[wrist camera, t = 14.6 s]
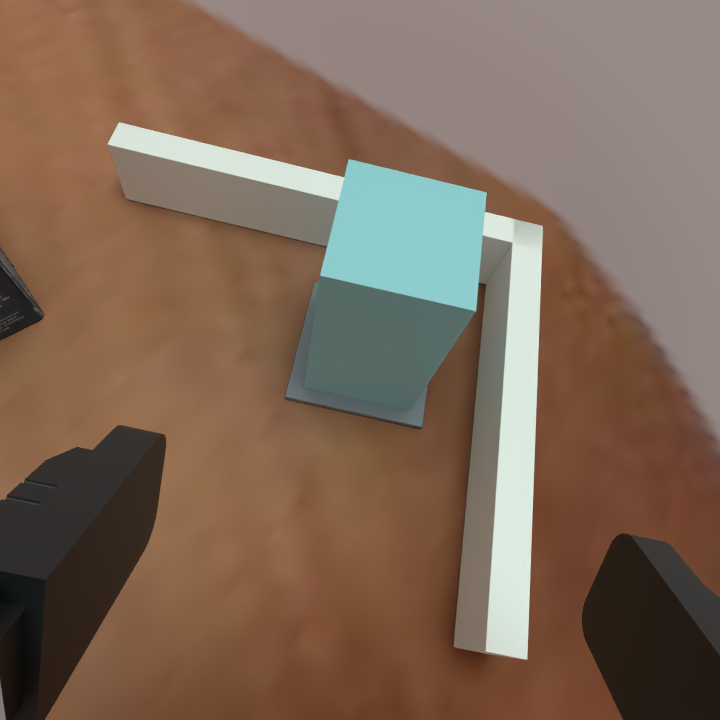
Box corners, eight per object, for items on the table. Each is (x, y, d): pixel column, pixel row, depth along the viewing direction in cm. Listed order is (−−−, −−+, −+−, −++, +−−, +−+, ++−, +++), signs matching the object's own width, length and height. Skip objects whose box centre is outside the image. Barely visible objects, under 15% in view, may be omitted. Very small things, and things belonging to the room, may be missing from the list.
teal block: (303, 387, 28) (319, 275, 19) (325, 296, 30) (349, 159, 21) (410, 410, 28) (476, 311, 19) (422, 318, 31) (486, 192, 22)
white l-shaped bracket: (-43, 547, 23) (-101, 534, 19) (136, 178, 32) (119, 122, 29) (488, 654, 24) (527, 659, 21) (513, 268, 33) (542, 226, 30)
